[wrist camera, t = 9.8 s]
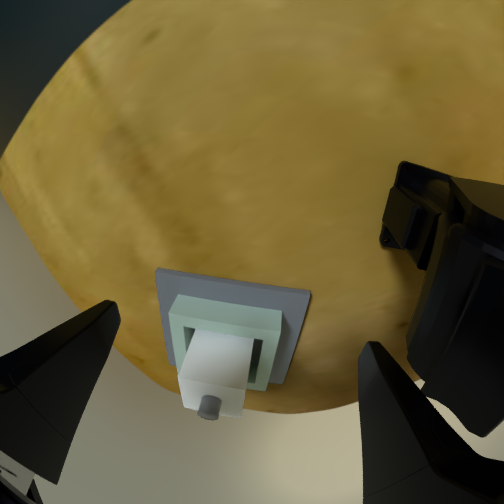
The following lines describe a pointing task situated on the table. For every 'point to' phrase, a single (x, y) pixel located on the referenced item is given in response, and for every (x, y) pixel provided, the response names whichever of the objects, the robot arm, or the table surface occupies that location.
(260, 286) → the charging dock
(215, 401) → the plug
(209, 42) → the table surface
